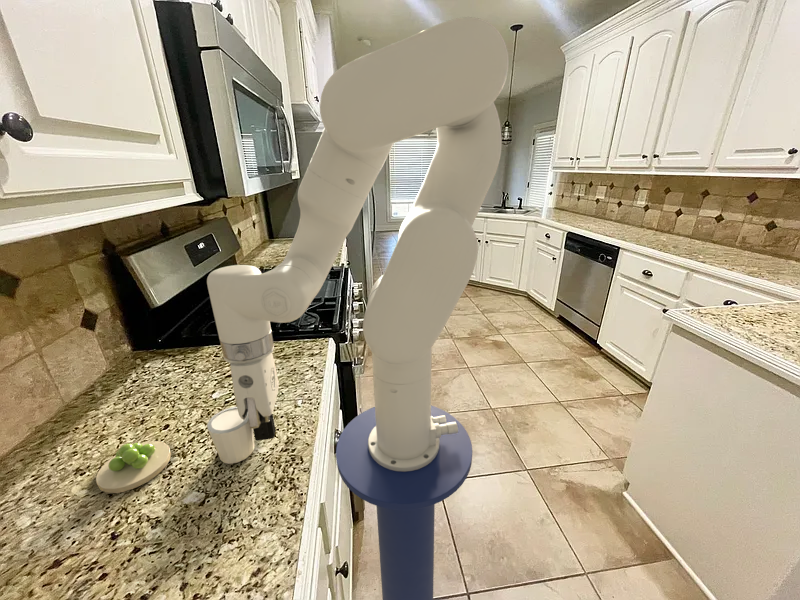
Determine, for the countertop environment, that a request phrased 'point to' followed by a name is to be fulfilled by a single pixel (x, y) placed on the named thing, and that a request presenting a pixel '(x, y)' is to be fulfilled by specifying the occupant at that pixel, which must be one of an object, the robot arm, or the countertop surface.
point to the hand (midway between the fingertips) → (265, 436)
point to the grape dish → (133, 474)
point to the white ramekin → (231, 435)
